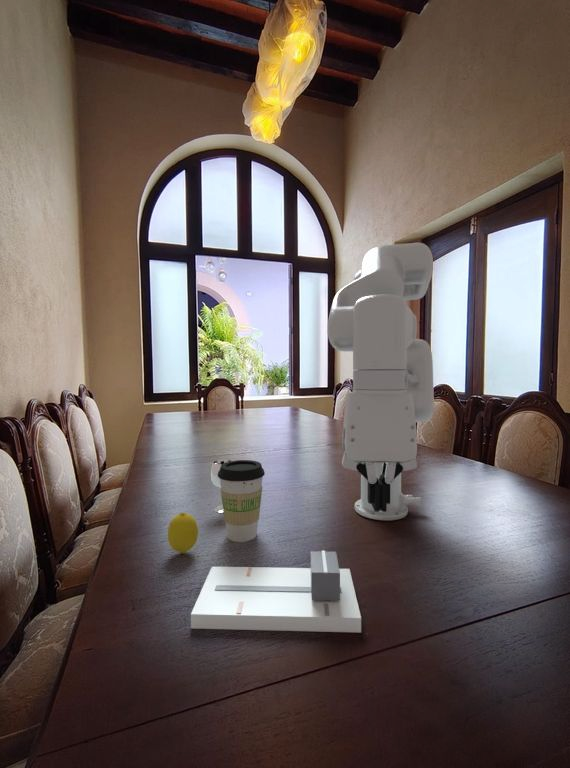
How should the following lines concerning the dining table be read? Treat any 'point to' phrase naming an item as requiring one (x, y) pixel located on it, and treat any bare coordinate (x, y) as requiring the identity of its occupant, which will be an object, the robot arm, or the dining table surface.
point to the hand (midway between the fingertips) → (378, 508)
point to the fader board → (273, 601)
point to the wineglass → (217, 479)
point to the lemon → (182, 532)
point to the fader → (325, 576)
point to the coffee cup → (241, 498)
